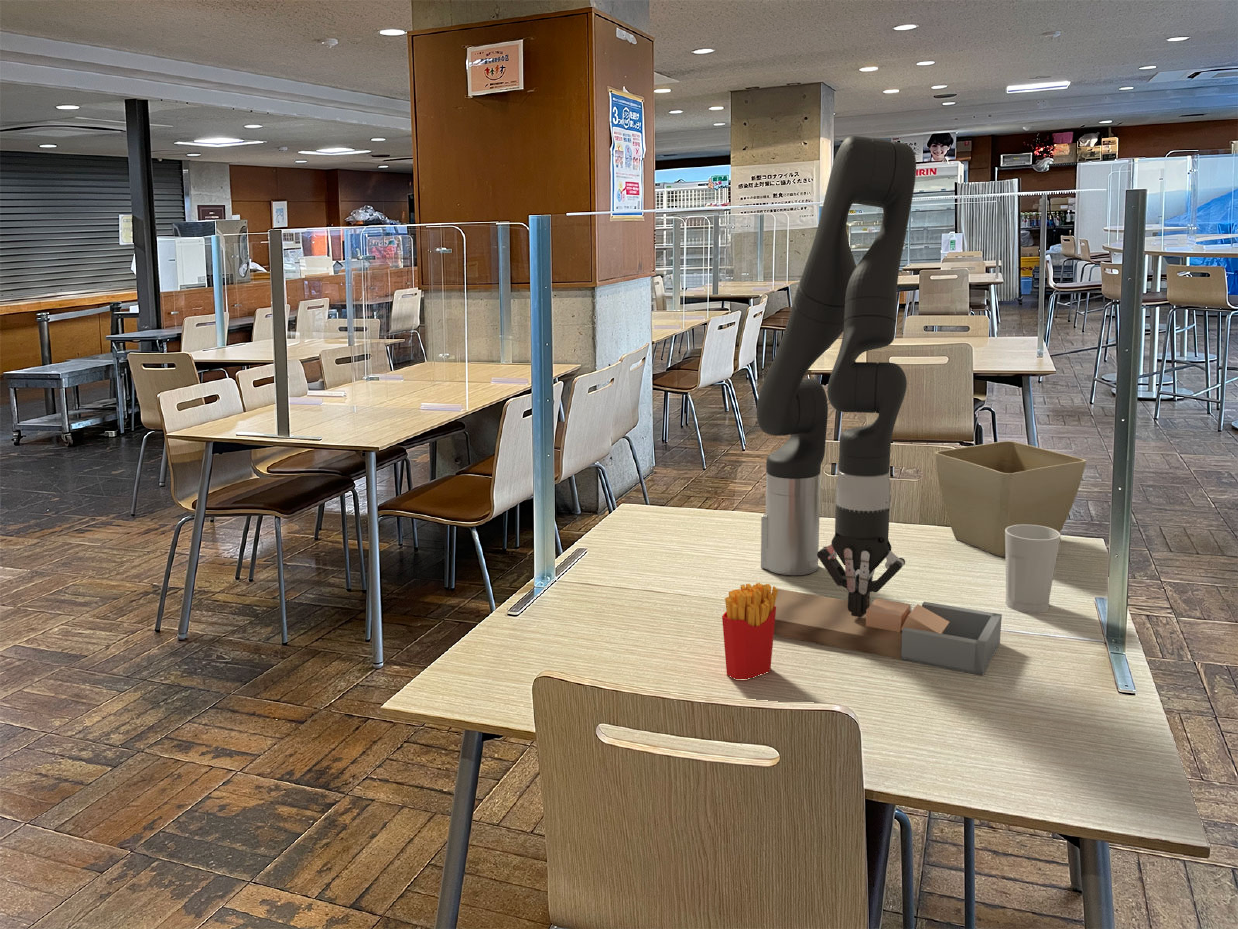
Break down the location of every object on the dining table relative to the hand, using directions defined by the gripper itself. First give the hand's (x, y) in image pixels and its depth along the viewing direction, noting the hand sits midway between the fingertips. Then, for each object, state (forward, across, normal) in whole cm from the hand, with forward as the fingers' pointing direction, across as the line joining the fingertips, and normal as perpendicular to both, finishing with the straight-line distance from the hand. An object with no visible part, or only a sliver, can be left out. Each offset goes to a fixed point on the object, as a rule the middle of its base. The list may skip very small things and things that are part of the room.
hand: (858, 615), depth 149 cm
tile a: (+1, +4, 0) cm, 4 cm away
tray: (+3, +13, 0) cm, 14 cm away
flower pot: (+3, +10, +53) cm, 54 cm away
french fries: (+3, -9, -19) cm, 21 cm away
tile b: (+1, +9, 0) cm, 9 cm away
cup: (+3, +20, +23) cm, 31 cm away
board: (+3, -4, 0) cm, 5 cm away
